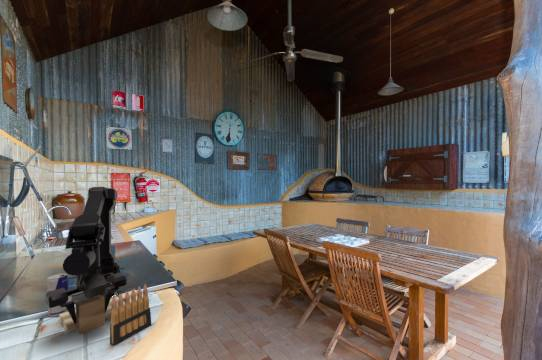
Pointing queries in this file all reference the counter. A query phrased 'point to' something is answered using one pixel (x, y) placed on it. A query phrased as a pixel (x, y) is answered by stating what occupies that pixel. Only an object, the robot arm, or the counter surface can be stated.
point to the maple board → (70, 325)
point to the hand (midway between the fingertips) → (90, 317)
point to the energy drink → (54, 284)
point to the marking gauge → (90, 314)
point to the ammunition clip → (129, 316)
